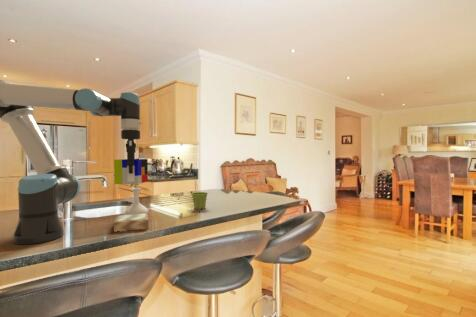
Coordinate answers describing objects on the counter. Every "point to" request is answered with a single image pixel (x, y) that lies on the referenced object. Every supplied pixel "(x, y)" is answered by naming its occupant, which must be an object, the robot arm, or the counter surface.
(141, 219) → the plinth
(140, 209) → the flower in vase
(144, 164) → the puzzle toy
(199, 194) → the plant pot
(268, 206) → the counter surface
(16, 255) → the counter surface
